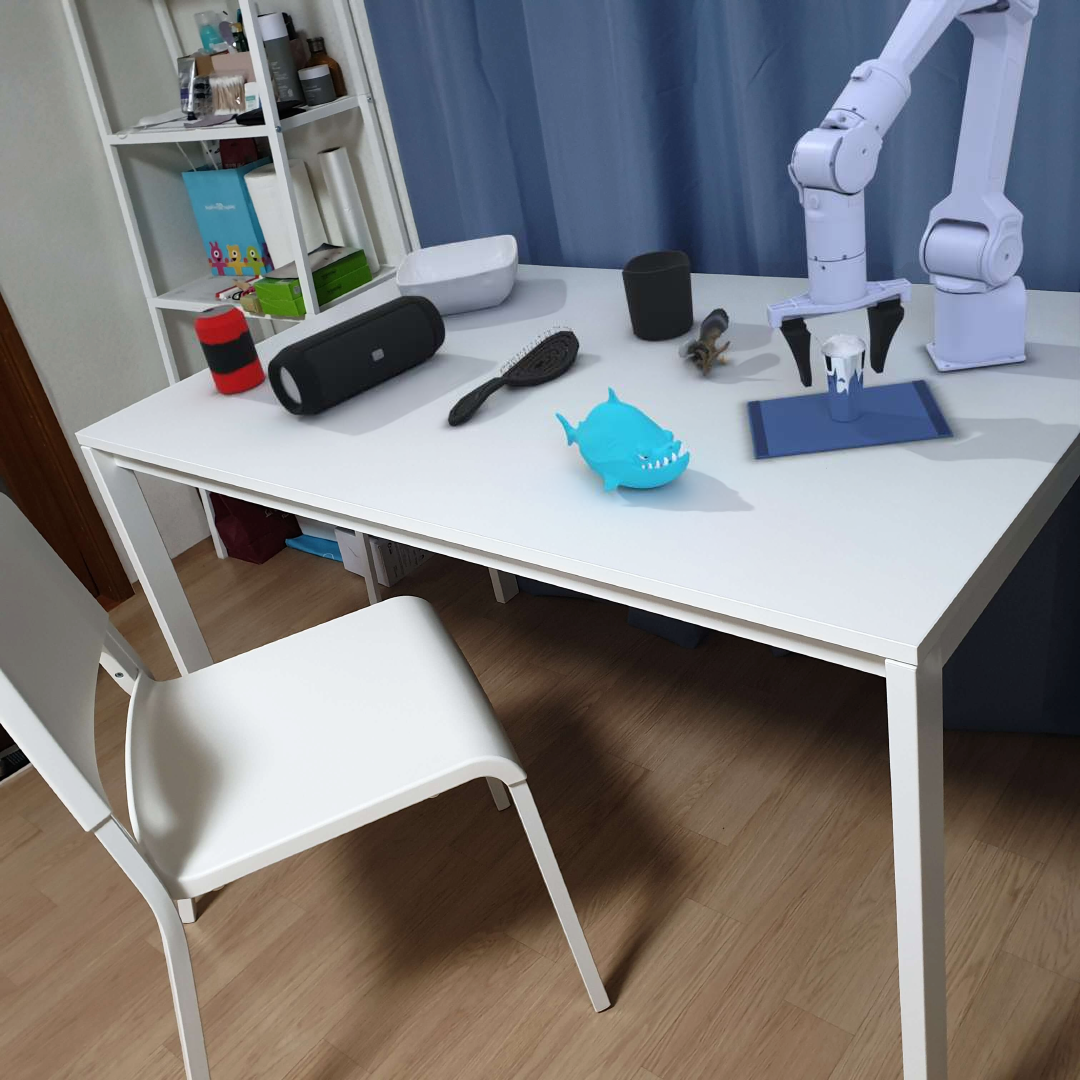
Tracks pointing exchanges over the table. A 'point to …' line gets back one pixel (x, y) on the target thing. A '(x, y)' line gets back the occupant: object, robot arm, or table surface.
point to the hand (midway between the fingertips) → (841, 376)
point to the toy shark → (627, 446)
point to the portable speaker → (356, 355)
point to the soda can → (229, 349)
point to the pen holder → (659, 294)
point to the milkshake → (844, 375)
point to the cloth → (813, 429)
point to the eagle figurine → (708, 340)
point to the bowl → (461, 274)
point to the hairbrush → (523, 372)
